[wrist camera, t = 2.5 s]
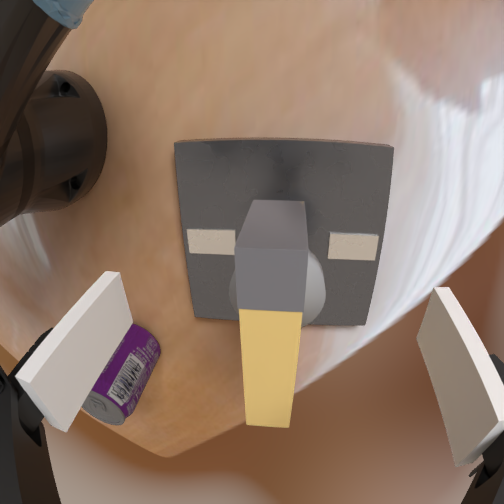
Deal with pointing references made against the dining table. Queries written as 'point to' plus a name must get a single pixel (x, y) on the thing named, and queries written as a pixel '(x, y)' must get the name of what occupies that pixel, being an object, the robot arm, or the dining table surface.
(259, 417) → the handle
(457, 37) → the dining table surface
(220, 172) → the post base
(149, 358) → the beverage can
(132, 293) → the dining table surface
